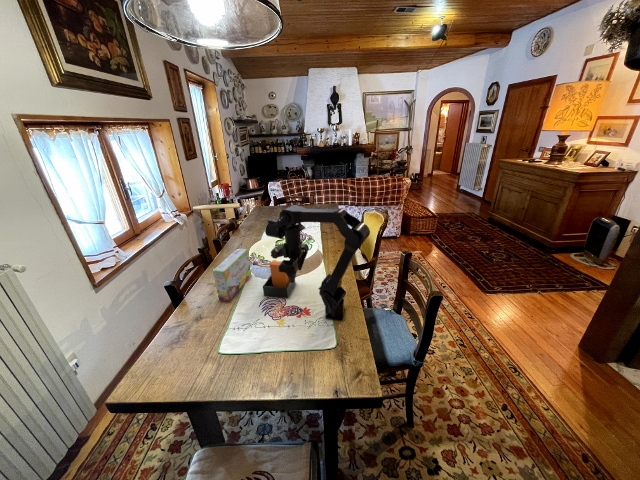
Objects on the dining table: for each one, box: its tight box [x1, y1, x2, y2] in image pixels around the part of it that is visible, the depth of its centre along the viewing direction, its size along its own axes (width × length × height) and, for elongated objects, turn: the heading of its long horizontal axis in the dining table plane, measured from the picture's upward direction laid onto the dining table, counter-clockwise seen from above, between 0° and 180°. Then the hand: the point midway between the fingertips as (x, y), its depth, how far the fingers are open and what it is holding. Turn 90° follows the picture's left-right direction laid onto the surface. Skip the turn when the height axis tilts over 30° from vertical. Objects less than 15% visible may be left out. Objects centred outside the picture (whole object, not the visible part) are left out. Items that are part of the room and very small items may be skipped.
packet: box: [269, 260, 289, 288], centre depth 111 cm, size 7×3×13 cm, turn 73°
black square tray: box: [262, 274, 296, 299], centre depth 113 cm, size 11×11×5 cm
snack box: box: [212, 248, 252, 302], centre depth 114 cm, size 21×6×15 cm, turn 168°
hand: (296, 276), depth 99 cm, fingers open, 9 cm apart
